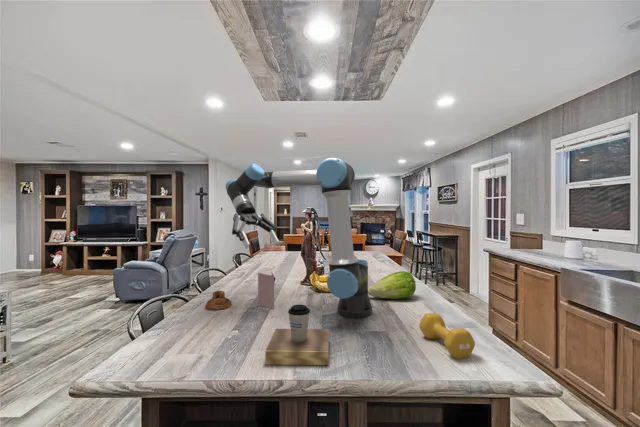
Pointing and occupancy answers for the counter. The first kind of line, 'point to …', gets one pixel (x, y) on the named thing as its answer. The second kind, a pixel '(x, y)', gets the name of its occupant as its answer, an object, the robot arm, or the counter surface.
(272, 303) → the greeting card
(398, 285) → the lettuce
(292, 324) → the coffee cup
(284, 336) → the brown flat square block
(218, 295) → the brown round patterned piece
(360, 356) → the counter surface
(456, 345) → the dumbbell
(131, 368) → the counter surface
